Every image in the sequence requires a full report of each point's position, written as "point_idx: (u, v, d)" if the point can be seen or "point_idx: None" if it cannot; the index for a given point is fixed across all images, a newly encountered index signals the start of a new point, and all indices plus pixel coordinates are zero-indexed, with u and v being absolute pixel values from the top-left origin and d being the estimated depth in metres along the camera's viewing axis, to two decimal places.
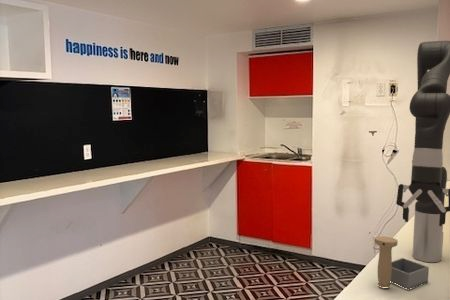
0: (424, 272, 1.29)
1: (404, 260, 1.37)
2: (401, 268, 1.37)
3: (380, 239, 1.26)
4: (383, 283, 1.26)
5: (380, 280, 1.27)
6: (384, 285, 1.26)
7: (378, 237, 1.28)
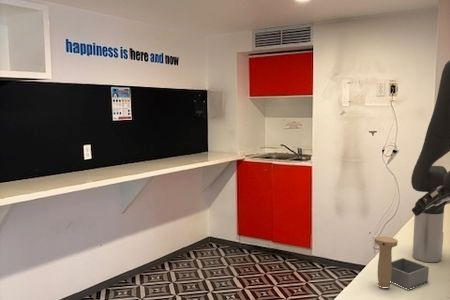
0: (424, 272, 1.29)
1: (404, 260, 1.37)
2: (401, 268, 1.37)
3: (380, 239, 1.26)
4: (383, 283, 1.26)
5: (380, 280, 1.27)
6: (384, 285, 1.26)
7: (378, 237, 1.28)
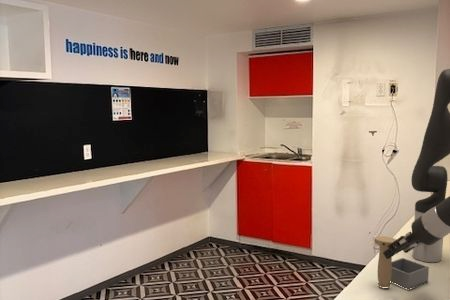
0: (424, 272, 1.29)
1: (404, 260, 1.37)
2: (401, 268, 1.37)
3: (380, 239, 1.26)
4: (383, 283, 1.26)
5: (380, 280, 1.27)
6: (384, 285, 1.26)
7: (378, 237, 1.28)
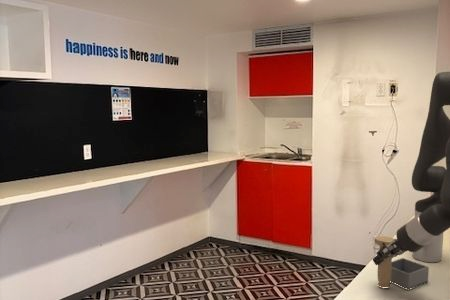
0: (424, 272, 1.29)
1: (404, 260, 1.37)
2: (401, 268, 1.37)
3: (380, 239, 1.26)
4: (383, 283, 1.26)
5: (380, 280, 1.27)
6: (384, 285, 1.26)
7: (378, 237, 1.28)
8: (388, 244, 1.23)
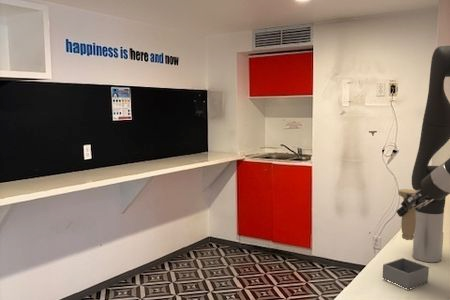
0: (424, 272, 1.29)
1: (404, 260, 1.37)
2: (401, 268, 1.37)
3: (404, 191, 1.28)
4: (407, 234, 1.29)
5: (404, 231, 1.29)
6: (408, 236, 1.29)
7: (402, 190, 1.30)
8: None
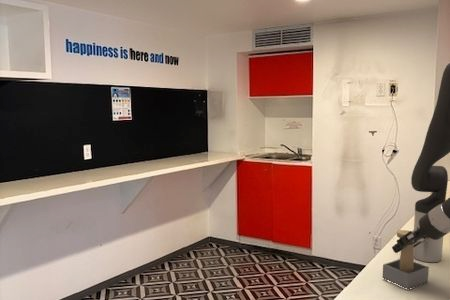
0: (424, 272, 1.29)
1: None
2: None
3: (402, 233, 1.30)
4: None
5: None
6: None
7: (400, 231, 1.31)
8: None
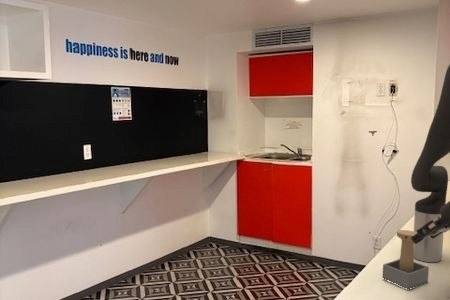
0: (424, 272, 1.29)
1: None
2: None
3: (402, 232, 1.30)
4: None
5: None
6: None
7: (400, 231, 1.32)
8: None
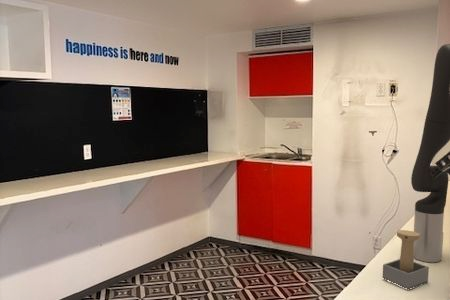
0: (424, 272, 1.29)
1: None
2: None
3: (402, 233, 1.30)
4: None
5: None
6: None
7: (400, 231, 1.32)
8: None
